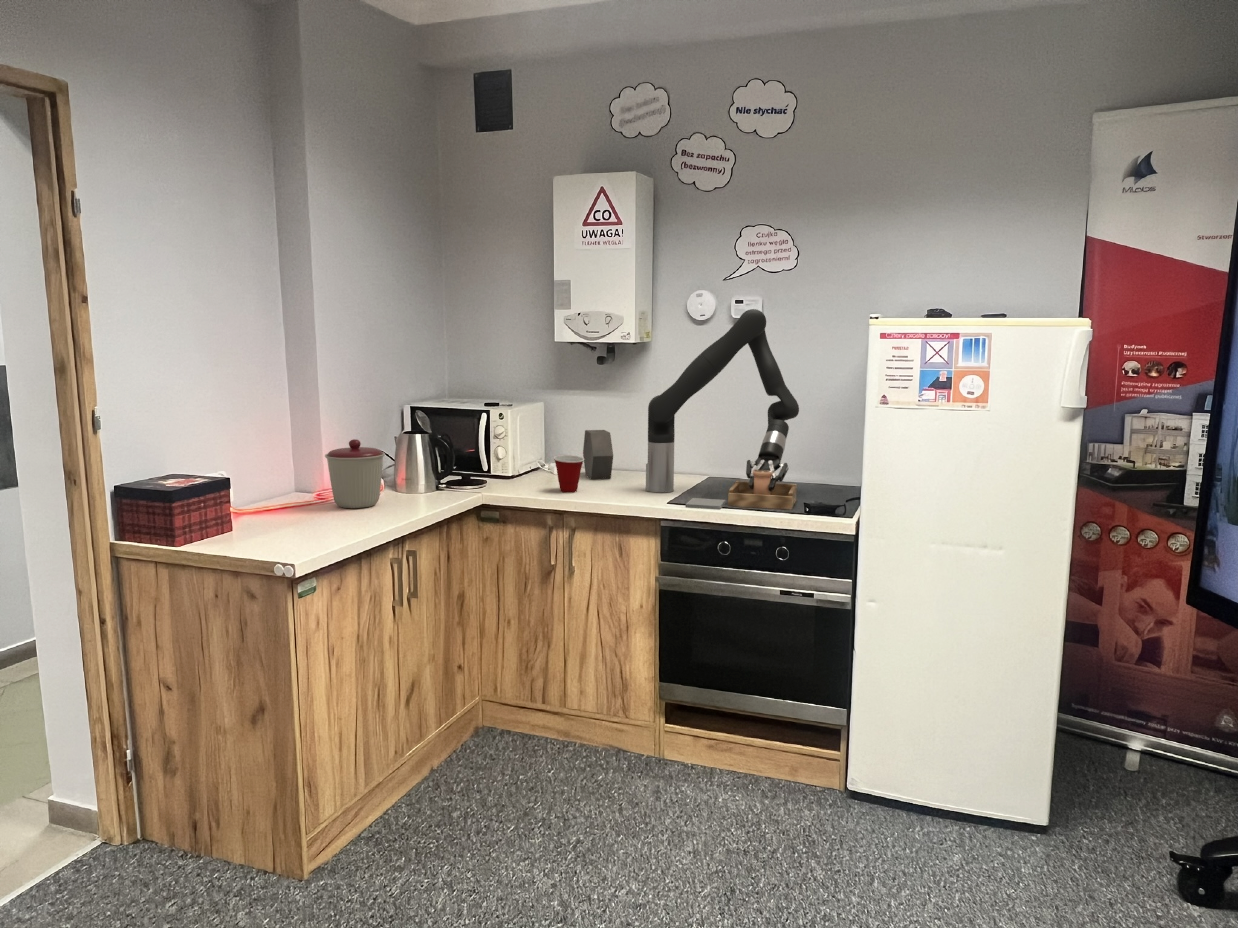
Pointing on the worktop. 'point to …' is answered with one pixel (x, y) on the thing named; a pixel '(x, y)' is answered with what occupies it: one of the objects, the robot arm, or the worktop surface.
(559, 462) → the plastic cup
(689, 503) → the slate tile
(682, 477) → the worktop surface
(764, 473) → the terracotta pot
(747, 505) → the wooden tray
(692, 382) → the robot arm
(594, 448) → the grey hexagonal block
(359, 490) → the canister
